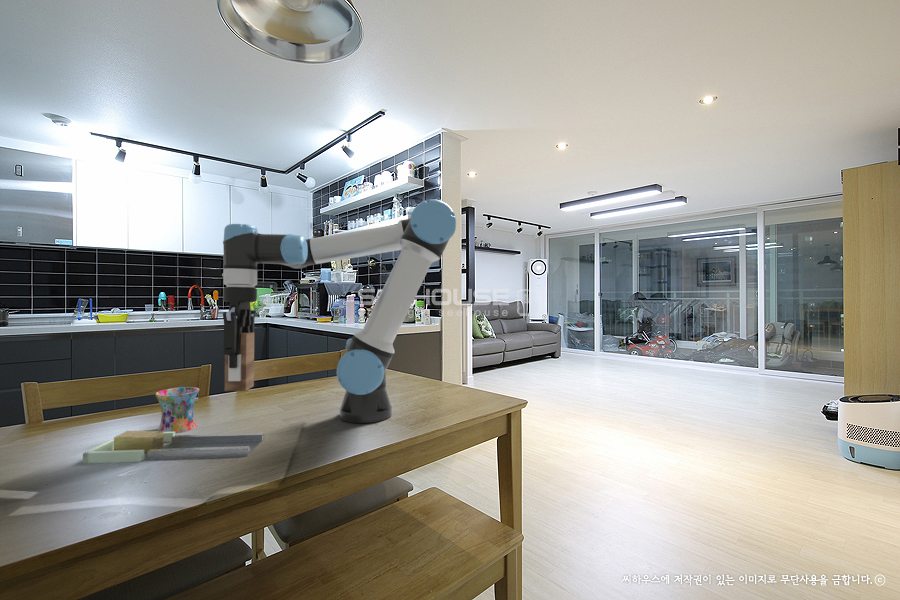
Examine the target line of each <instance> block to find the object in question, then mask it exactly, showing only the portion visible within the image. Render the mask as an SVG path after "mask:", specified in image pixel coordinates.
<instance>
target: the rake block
mask: <svg viewBox="0 0 900 600" xmlns="http://www.w3.org/2000/svg"><path fill="white" fill-rule="evenodd" d="M254 347H255V331H254V332H249V333H242V334H241V344H240V352H239V354H241V381H228V355H224V392H247V391H248V390H249V389H251V388H253V387H254V386H255V349H254Z"/></svg>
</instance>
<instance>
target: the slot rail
mask: <svg viewBox="0 0 900 600" xmlns="http://www.w3.org/2000/svg"><path fill="white" fill-rule="evenodd" d="M264 440H265V433H264V432H255V433H253V432H252V433H249V432H248V433H224V434H223V433H221V434H220V433H218V434H217V433H215V434H182V435H181V434H177V435H176V434H175V436H173V437H171V442H170V444H168V445H167V446H166V447H163V448H161V449H151V450H149V451H148V454H147V458H146V459H145V461H159V460H161V461H163V460H164V461H166V460H168V461H169V460H194V459H221V458H222V459H223V458H227V459H228V458H246V457H248V456H249V455H250V454H251V453H252V452H253V451H254V450H255V449H256V448H257V447H259V444H262V441H264Z"/></svg>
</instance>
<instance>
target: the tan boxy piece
mask: <svg viewBox="0 0 900 600" xmlns="http://www.w3.org/2000/svg"><path fill="white" fill-rule="evenodd" d="M143 431H144V432H142V433H140V434H138V435H137V436H135V437H133V438H132V450H144V455H148V451H149V450H151V449H164V442H163V431H157V430H151V431H150V430H149V431H147V430H143Z"/></svg>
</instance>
